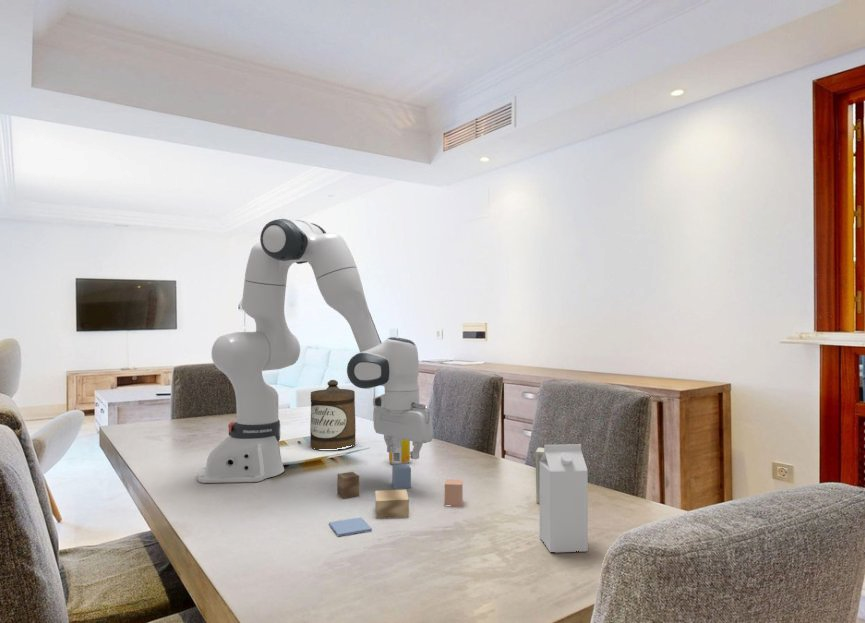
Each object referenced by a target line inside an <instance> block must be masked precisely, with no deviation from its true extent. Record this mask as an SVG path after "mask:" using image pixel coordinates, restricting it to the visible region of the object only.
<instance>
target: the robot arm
mask: <svg viewBox="0 0 865 623" xmlns="http://www.w3.org/2000/svg"><path fill="white" fill-rule="evenodd" d="M259 240H260V242H258V243H256V244H254V245H253V246H252V248H251V249H250V253H249V255H248V260H247V263H246V268H245V274H244V281H243V290H242V298H241V300H242V301H241V306H242V307H241V308H242V310H243V311H244V312H245V314H246V315H247V316H249V317H250V318H252V319H253V320H254V322H255V327H256V328H255V331H243V332H242V331H241V332H240V331H239V332H238V331H237V332H236V331H234V332H232V333H227V334H223V335H220V336H219V337H217V338H216V339H215V341H214V343H213V345H212V347H211V359H212V363H213V364H214V366H215V367H216V368H217V369H218V370H219V371H220V372H222V373H223V374H224V375H225V376H226V377H227V379H228V380H229V381H230V383H231V385H232V388H233V391H234V394H235V402H236V403H235V404H236V405H235V407H236V421H230V422H229V423H228V437H226V439H224V440H223V441H221V443H219V444H217V445H216V446H215V447H214V448H213V449H212V450H211V451H210V452H209V454H208V457H207V460H206V465H205V467H203V468H200V470H198V472H197V478H196V480H197V481H198V482H199V483H200V484H201V483H203V484H209V483H210V484H215V483H217V484H218V483H256V482H261V481H263V480H265V479H268V478H269V479H270V478H271V477H272V478H273V477H276V476H279V475H281V474H282V473H283V472H284V471H285V467H284V464H283V460H282V455H281V447H280V440H281V421H280V420H279V394H278V391H277V390H276V389H275V388H274V387H272V386H271V385H270V384H267V383H266V382H265V380H264V377H263V371H274V370H275V371H276V370H277V371H278V370H282V369H284V368H287V367H290V366H294V364H296V363H297V361H298V360H299V358H300V355H301V346H300V342H299V339H298V338H297V337H296V335H294V334H293V332H292V331H291V330H290V328H289V326H288V324H287V320H286V316H285V301H286V291H287V290H286V288H287V280H288V272H289V269H290V267H291V266H292V265H293V264H294V263H296V264H297V265H302V264H307V263H308V264H309V266H310V267H311V269H312V272H313V274H314V278H315V281H316V284H317V285H316V286H317V287H318V291H319V292H320V295H321V296H322V298H323V299H324V301H325V303H326V305H327V306H329V307H330V308H332V309H333V310H334V311H335V312H337V313H338V314H340V315H341V316H342V317H343V318H344V319H345V320H346V322H347V323H348V325H349V326H350V329H351V331H352V334H353V337H354V339H355V342H356V345H357V347H358V349H359V352H358V353H357V354H354V355H353V356H352V357H351V358H350V359H349V361H348V363H347V366H346V375H347V378H348V380H349V382H350V383H351V384H352V385H353V386H355V387H356V388H359V389H365V390H366V389H367V390H368V389H372V388H376V387H381V386H382V387H384V394H383V393H382V394H381V395H379V396H375V397H374V398H373V399H372V406H374V409H373V416H372V417H373V418H372V419H373V429H374V431H375V433H376V434H379V435H383V439H384V442H385V445H386V452H387V453H388V454H389V453H395V452H396V446H395V445H394V443H393V440H392V438H393V437H396V438H400V439H404V440H409V441H410V442H412V446H413V448H412V451H411V450H410V460H411V459H412V460H419V459H420V451H421V449H422V447H423V444H426V443H431V442H432V440H433V439H434V428H433V419H432V415H431V411H430V410H429V408H428V406H427V405H426V404H424V403H421V404H420V386H419V382H418V381H419V380H418V377H419V374H420V361H419V360H420V359H419V352H418V348H417V345H416V343H415V342H414V341H413V340H411V339H407V338H402V337H391V336H390V337H387V338H386V339H385V341H383V342H382V341H381V339H380V335H379V333H378V331H377V327H376V325H375V322H374V320H373V317H372V315H371V313H370V310H369V307H368V302H367V300H366V296H365V292H364V288H363V284H362V281H361V277H360V273H359V270H358V268H357V267H358V266H357V265H356V262H355V259H354V257H353V255H352V252H351V250H350V248H349V246H348V244H347V243H346V241H345V239H344V238H343V236H341V235H340V234H338V233H335V232H327V231H326V230H324V228H322V226H320V225H318V224H316V223H312V222H308V221H305V220H300V219H286V218H279V219H274V220H271V221H269V222H267V223H266V224H265V225H264V227H263V228H262V230H261V232H260V239H259Z"/></svg>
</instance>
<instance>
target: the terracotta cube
mask: <svg viewBox="0 0 865 623" xmlns="http://www.w3.org/2000/svg"><path fill="white" fill-rule="evenodd" d="M463 482H464V480H463V479H457V478H456V479H455V478H445V481H444V506H445V505H451V506H450V507H461V506H462V507H463V498H464V497H463V496H464V494H463V492H464V491H463V490H464V488H463V486H464V484H463Z"/></svg>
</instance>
